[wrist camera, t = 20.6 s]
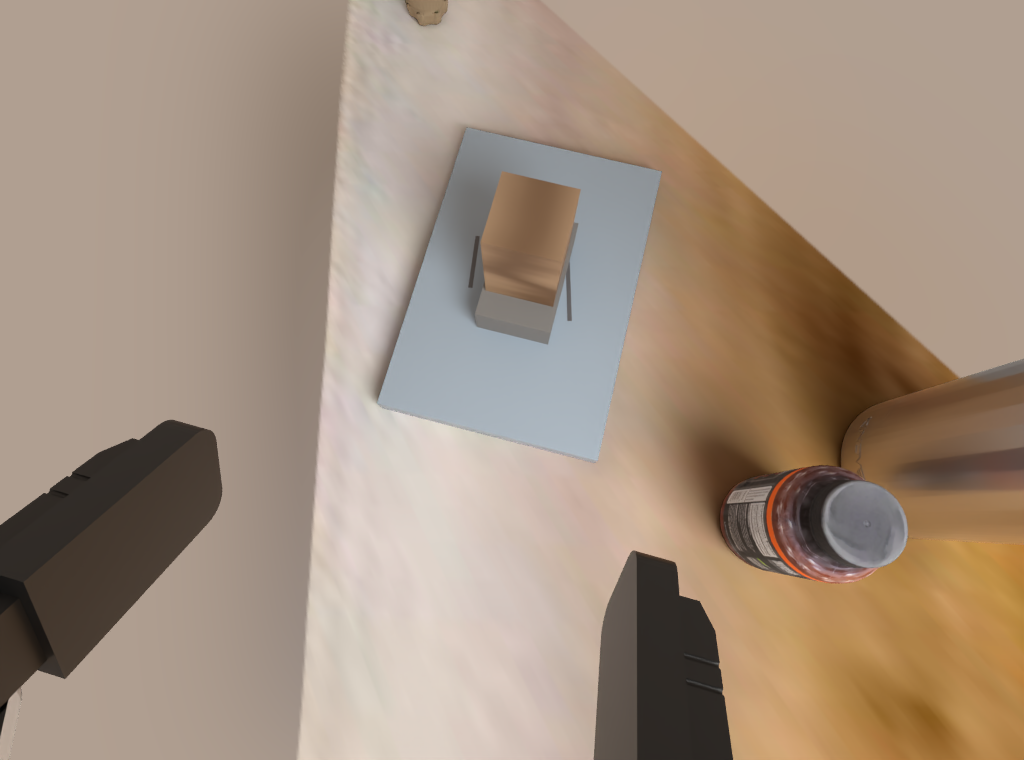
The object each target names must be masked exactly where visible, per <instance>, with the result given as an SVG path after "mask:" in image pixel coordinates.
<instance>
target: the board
mask: <svg viewBox="0 0 1024 760" xmlns="http://www.w3.org/2000/svg"><path fill="white" fill-rule="evenodd" d="M502 171H504V172H508V173H512V174H517V175H521V176H525V177H530V178H534V179H538V180H543V181H547V182H551V183H556V184H560V185H564V186H568V187H573V188H577V189H581V191H580V196H579V201H578V205H577V210H576V215H575V220H574V222H575V223H579V224H578V228H577V233H576V237H575V241H574V245H573V249H572V253H571V257H570V261H569V265H568V268H567V272H566V276H565V280H564V284H563V288H562V292H561V296H560V300H559V303H558V307H557V311H556V315H555V319H554V323H553V327H552V331H551V334H550V338H549V342H548V345H547V344H543V343H539V342H535V341H531V340H527V339H523V338H519V337H515V336H511V335H507V334H503V333H499V332H495V331H491V330H487V329H483V328H479V327H477V323H476V318H475V312H476V308H477V305H478V302H479V298H480V295H481V292H482V288H483V285H484V281H485V279H484V270H483V261H482V252H481V243H480V242H481V239H482V235H483V232H484V229H485V226H486V222H487V219H488V216H489V212H490V209H491V206H492V202H493V199H494V196H495V193H496V189H497V186H498V183H499V179H500V176H501V173H502ZM661 173H662V171H658V170H653V169H649V168H644V167H640V166H636V165H631V164H627V163H622V162H618V161H613V160H609V159H605V158H600V157H596V156H591V155H587V154H583V153H578V152H574V151H569V150H565V149H560V148H556V147H552V146H547V145H543V144H538V143H534V142H529V141H525V140H521V139H516V138H512V137H507V136H503V135H499V134H494V133H490V132H485V131H481V130H476V129H472V128H468V127H467V128H466V131H465V134H464V137H463V140H462V143H461V146H460V149H459V152H458V155H457V158H456V161H455V165H454V168H453V171H452V174H451V177H450V180H449V183H448V186H447V189H446V192H445V195H444V198H443V201H442V205H441V208H440V211H439V214H438V217H437V220H436V223H435V226H434V229H433V232H432V235H431V238H430V241H429V245H428V248H427V251H426V254H425V257H424V260H423V263H422V266H421V269H420V272H419V275H418V278H417V281H416V284H415V288H414V291H413V294H412V297H411V300H410V303H409V306H408V309H407V312H406V315H405V318H404V321H403V324H402V328H401V331H400V334H399V337H398V340H397V343H396V346H395V349H394V352H393V355H392V358H391V361H390V364H389V368H388V371H387V374H386V377H385V380H384V383H383V386H382V389H381V392H380V395H379V398H378V401H377V404H378V405H379V406H380V407H382V408H384V409H388V410H392V411H396V412H400V413H404V414H408V415H411V416H415V417H419V418H423V419H427V420H431V421H435V422H438V423H442V424H446V425H450V426H454V427H458V428H461V429H465V430H469V431H473V432H477V433H481V434H485V435H488V436H492V437H496V438H500V439H504V440H508V441H511V442H515V443H519V444H523V445H527V446H531V447H535V448H538V449H542V450H546V451H550V452H554V453H558V454H562V455H565V456H569V457H573V458H577V459H581V460H585V461H588V462H592V463H595V462H596V461H598V457H599V452H600V448H601V443H602V439H603V434H604V430H605V425H606V421H607V416H608V412H609V407H610V403H611V398H612V394H613V389H614V385H615V380H616V376H617V371H618V367H619V362H620V358H621V353H622V349H623V344H624V340H625V335H626V331H627V326H628V322H629V317H630V313H631V308H632V304H633V299H634V295H635V290H636V285H637V281H638V276H639V272H640V267H641V263H642V258H643V254H644V249H645V245H646V240H647V236H648V231H649V227H650V222H651V218H652V213H653V209H654V204H655V200H656V195H657V191H658V186H659V182H660V177H661Z"/></svg>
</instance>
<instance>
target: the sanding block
mask: <svg viewBox="0 0 1024 760" xmlns="http://www.w3.org/2000/svg"><path fill="white" fill-rule="evenodd" d="M580 191H581V189H577V188H573V187H568V186H564V185H560V184H556V183H551V182H547V181H543V180H538V179H534V178H530V177H525V176H521V175H517V174H512V173H508V172H504V171H502V173H501V176H500V179H499V183H498V186H497V189H496V193H495V196H494V199H493V202H492V206H491V209H490V212H489V216H488V219H487V222H486V226H485V229H484V232H483V235H482V239H481V242H480V243H481V252H482V261H483V270H484V279H485V281H484V285H483V288H482V292H481V295H480V298H479V302H478V305H477V308H476V312H475V318H476V323H477V327H479V328H483V329H487V330H491V331H495V332H499V333H503V334H507V335H511V336H515V337H519V338H523V339H527V340H531V341H535V342H539V343H543V344H547V345H548V342H549V338H550V334H551V331H552V327H553V323H554V319H555V315H556V311H557V307H558V303H559V300H560V296H561V292H562V288H563V284H564V280H565V276H566V272H567V268H568V265H569V261H570V257H571V253H572V249H573V245H574V241H575V237H576V233H577V228H578V224H579V223H575V222H574V220H575V215H576V210H577V205H578V201H579V196H580Z"/></svg>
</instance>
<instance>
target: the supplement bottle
mask: <svg viewBox="0 0 1024 760" xmlns="http://www.w3.org/2000/svg"><path fill="white" fill-rule="evenodd" d="M720 524H721V530H722V533H723V536H724V539H725V541H726V543H727V544H728V546H729V548H730V549H731V550H732V551H733V552H734V553H735V554H736V555H737V556H738V557H739V558H740V559H741V560H743V561H744V562H746V563H747V564H749V565H751V566H754V567H756V568H759V569H762V570H766V571H771V572H776V573H780V574H785V575H790V576H795V577H800V578H805V579H810V580H815V581H821V582H826V583H851V582H855V581H858V580H861V579H863V578H865V577H867V576H869V575H870V574H872V573H873V572H874V571H875V570H876V569H878V568H879V567H882V566H885V565H887V564H889V563H891V562H893V561H894V560H895V559H897V558H898V556H899V555H900V554H901V553H902V551H903V549H904V547H905V545H906V542H907V538H908V525H907V520H906V516H905V513H904V511H903V509H902V507H901V505H900V504H899V502H898V500H897V499H896V498H895V497H894V496H893V495H892V494H891V493H890V492H888V491H887V490H886V489H884V488H883V487H881V486H879V485H877V484H875V483H872V482H869V481H866V480H864V479H863V478H862V477H860V476H858V475H857V474H855V473H853V472H851V471H849V470H846V469H843V468H841V467H835V466H828V465H826V466H823V465H819V466H812V467H806V468H799V469H794V470H789V471H784V472H779V473H773V474H767V475H761V476H756V477H753V478H749V479H747V480H744V481H742V482H740V483H739V484H737V485H735V486H734V487H733V488H732V489H731V490H730V492H729V493H728V494H727V496H726V497H725V499H724V501H723V504H722V507H721V512H720Z"/></svg>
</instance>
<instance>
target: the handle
mask: <svg viewBox="0 0 1024 760" xmlns="http://www.w3.org/2000/svg"><path fill="white" fill-rule="evenodd" d="M405 2H406V5H407V8H408V11H409V13H410V15H411V16H412V17H414V18H416V19H417V20H418V23H419V24H420V25H422V26H426V25H428V24H435V25H437V24H439V23H440V22H441V17H442V16H443V14H444V13H446V12H447V7H448V0H405Z"/></svg>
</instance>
